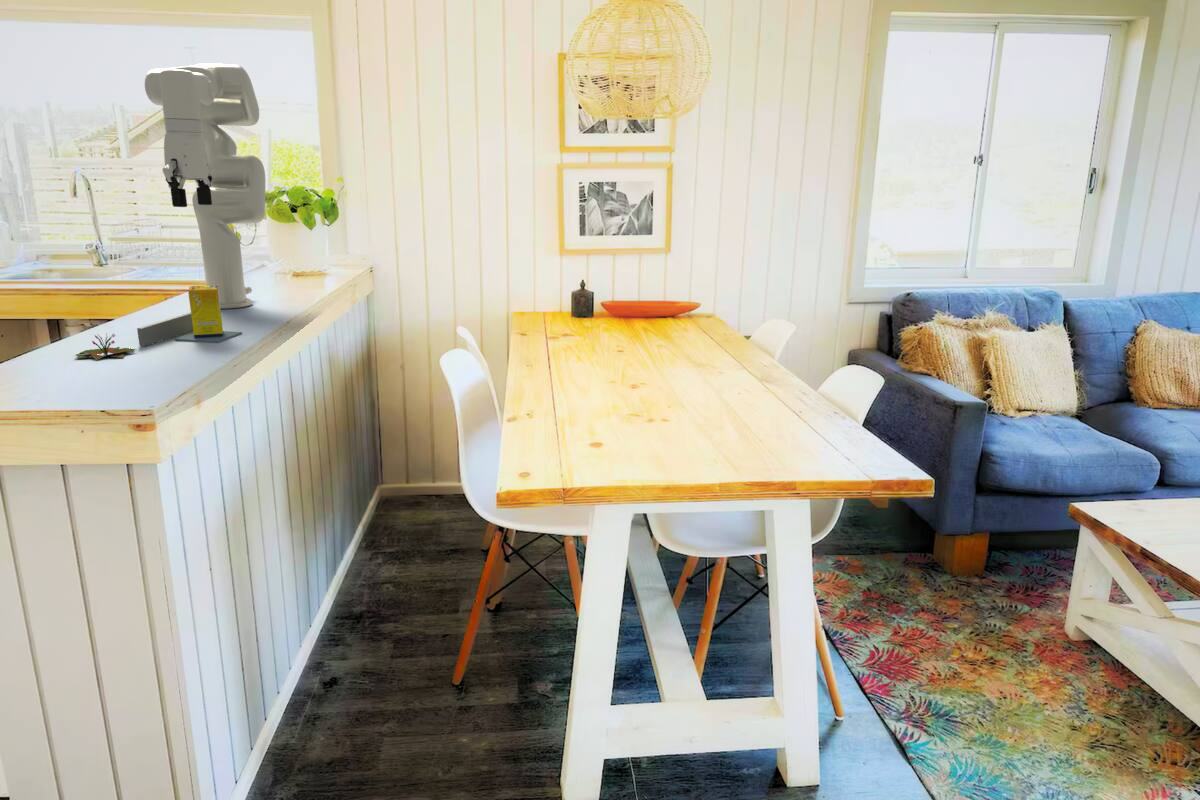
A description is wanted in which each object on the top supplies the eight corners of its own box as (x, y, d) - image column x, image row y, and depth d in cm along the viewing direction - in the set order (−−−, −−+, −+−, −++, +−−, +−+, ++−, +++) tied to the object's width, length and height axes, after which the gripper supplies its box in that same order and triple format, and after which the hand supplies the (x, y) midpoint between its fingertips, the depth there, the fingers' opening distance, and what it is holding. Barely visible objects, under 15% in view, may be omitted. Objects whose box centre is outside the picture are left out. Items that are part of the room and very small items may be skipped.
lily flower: (62, 364, 157) (58, 341, 156) (84, 350, 168) (81, 329, 167) (129, 362, 160) (126, 340, 159) (147, 349, 171) (144, 328, 170)
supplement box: (194, 333, 183) (188, 285, 180) (223, 331, 185) (218, 284, 182) (193, 338, 178) (187, 289, 175) (223, 337, 180) (217, 288, 177)
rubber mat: (201, 331, 187) (201, 329, 187) (242, 333, 186) (241, 331, 186) (175, 340, 177) (174, 338, 177) (217, 342, 176) (217, 341, 176)
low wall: (205, 325, 194) (203, 308, 193) (208, 325, 194) (206, 309, 193) (139, 346, 171) (137, 328, 170) (144, 346, 171) (141, 328, 170)
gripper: (191, 129, 189) (199, 203, 194) (143, 126, 173) (153, 207, 178) (221, 130, 189) (228, 204, 194) (175, 127, 172) (185, 208, 177)
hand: (192, 205), depth 186 cm, fingers open, 9 cm apart
